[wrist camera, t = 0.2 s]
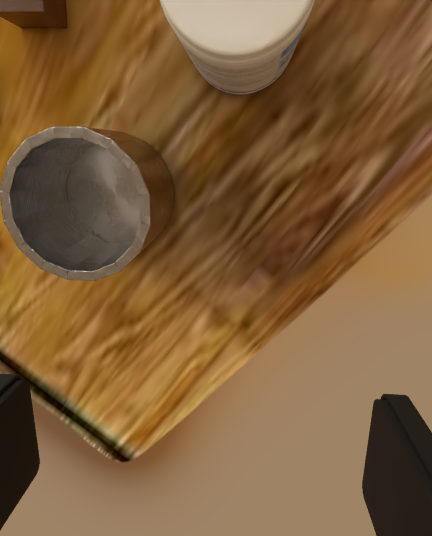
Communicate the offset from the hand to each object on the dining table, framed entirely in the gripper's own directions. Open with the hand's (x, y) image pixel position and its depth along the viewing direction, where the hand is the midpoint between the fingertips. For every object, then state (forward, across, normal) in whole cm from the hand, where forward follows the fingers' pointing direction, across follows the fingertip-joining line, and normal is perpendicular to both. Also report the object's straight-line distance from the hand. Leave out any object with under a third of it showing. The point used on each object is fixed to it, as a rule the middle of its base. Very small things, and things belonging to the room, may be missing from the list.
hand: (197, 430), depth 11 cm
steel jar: (+31, +12, -3) cm, 33 cm away
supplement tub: (+31, 0, -17) cm, 35 cm away
